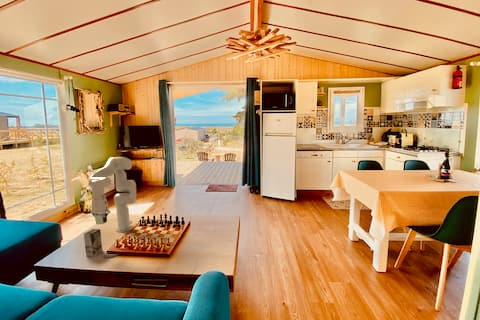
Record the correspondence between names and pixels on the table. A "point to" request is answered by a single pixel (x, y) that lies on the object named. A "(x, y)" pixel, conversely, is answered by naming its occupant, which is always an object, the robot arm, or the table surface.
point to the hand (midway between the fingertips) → (101, 222)
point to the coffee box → (93, 242)
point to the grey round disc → (110, 255)
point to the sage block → (99, 219)
